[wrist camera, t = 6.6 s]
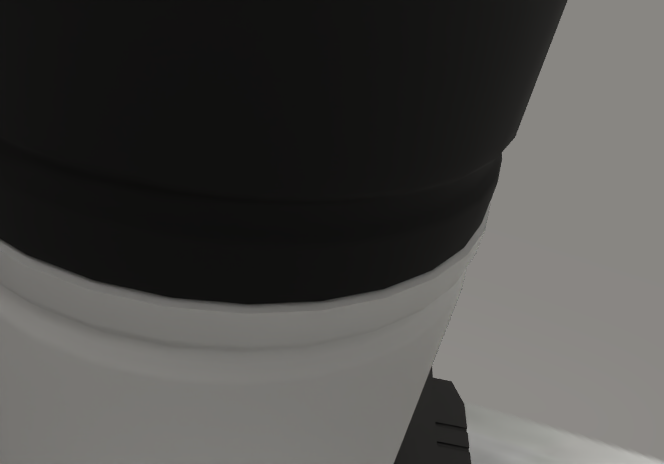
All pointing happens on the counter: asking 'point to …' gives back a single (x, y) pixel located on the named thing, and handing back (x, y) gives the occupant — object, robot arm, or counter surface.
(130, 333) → the travel mug
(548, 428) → the counter surface
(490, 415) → the counter surface
